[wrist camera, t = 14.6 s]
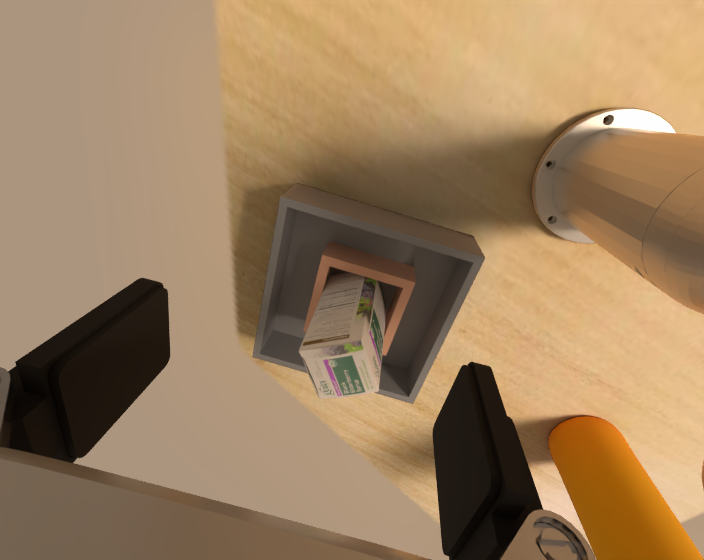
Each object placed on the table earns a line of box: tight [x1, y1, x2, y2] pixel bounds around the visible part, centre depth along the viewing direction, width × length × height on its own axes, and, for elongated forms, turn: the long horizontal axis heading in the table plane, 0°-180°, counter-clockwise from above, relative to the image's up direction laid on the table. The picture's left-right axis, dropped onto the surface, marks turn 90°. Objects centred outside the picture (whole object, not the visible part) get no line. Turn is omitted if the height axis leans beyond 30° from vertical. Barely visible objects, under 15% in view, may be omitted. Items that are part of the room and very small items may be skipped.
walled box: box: [253, 183, 485, 404], centre depth 41 cm, size 20×20×6 cm
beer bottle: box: [548, 416, 704, 560], centre depth 37 cm, size 9×9×29 cm
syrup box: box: [299, 272, 386, 399], centre depth 36 cm, size 6×6×14 cm
